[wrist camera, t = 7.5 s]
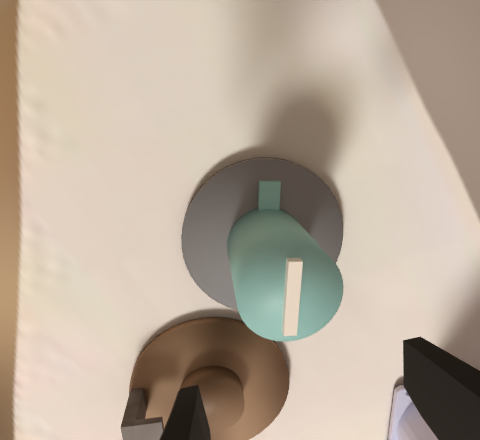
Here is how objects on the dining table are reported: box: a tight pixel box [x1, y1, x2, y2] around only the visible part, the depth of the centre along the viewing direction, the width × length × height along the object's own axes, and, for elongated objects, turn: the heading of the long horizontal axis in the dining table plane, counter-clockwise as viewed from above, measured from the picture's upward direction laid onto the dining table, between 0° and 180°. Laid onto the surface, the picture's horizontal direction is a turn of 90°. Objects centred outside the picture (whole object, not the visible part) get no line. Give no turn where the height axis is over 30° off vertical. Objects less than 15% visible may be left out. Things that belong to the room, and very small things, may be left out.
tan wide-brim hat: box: [121, 317, 289, 440], centre depth 22 cm, size 11×11×4 cm
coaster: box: [181, 158, 343, 310], centre depth 20 cm, size 10×10×1 cm
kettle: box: [227, 181, 343, 341], centre depth 17 cm, size 6×5×6 cm
